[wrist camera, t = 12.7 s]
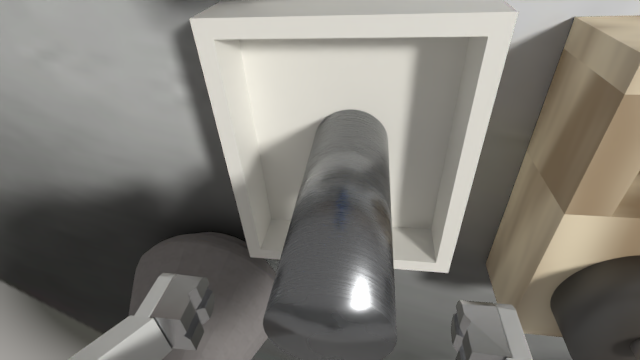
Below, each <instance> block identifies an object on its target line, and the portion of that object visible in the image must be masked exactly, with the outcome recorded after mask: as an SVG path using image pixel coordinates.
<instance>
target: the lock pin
mask: <svg viewBox="0 0 640 360" xmlns="http://www.w3.org/2000/svg"><path fill="white" fill-rule="evenodd" d="M263 328H264V331H265V333H266V335H267V336H268V338H269V339H270V340H271V341H272V342H273V343H274V344H275V345H276V346H277V347H279V348H280V349H281V350H283V351H284V352H286V353H288V354H290V355H292V356H294V357H296V358H299V359H301V360H381V359H383V358H385V357H386V356H387V355H389V354H390V353H391V352H392V350H393V349H394V347H395V345H396V342H397V331H396V308H395V286H394V263H393V240H392V217H391V195H390V172H389V149H388V136H387V133H386V130H385V128H384V126H383V125H382V124H381V122H380V121H379V120H378V119H376V118H375V117H374V116H372V115H371V114H369V113H366V112H363V111H360V110H352V109H349V110H341V111H338V112H335V113H333V114H331V115H329V116H327V117H326V118H325V119H324V120H323V121H322V122H321V123H320V125H319V126H318V128H317V130H316V133H315V137H314V141H313V144H312V148H311V151H310V155H309V158H308V162H307V165H306V169H305V172H304V176H303V180H302V183H301V187H300V190H299V194H298V197H297V201H296V204H295V208H294V211H293V215H292V219H291V222H290V226H289V229H288V233H287V236H286V240H285V243H284V247H283V250H282V254H281V258H280V261H279V265H278V268H277V272H276V275H275V279H274V282H273V286H272V290H271V293H270V297H269V300H268V304H267V307H266V311H265V314H264V318H263Z"/></svg>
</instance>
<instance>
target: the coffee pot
mask: <svg viewBox="0 0 640 360" xmlns="http://www.w3.org/2000/svg"><path fill="white" fill-rule="evenodd" d="M162 273H171V274H180V275H190V276H199V277H207V279H208V281H209V285H208V288H209V289H210V290H211V291H213V294H214V300H215V303H214V308H213V312H212V315H211V317H210V319H209V320H208V321H207V322H205V323H204V324H203V328H204V334H203V336H202V338H201V340H200V343H199V345H198V347H197V350H185V349H174V348H172V351H170V352H169V353H168V354H167V355H166V356H165V357H164V358H163V359H162V360H251V359H252V357H253V356H254V355H255V354H256V352H257V351H258V350H259V348H260V347H261V346H262V345H263V343H264V342H265V341H266V339H267V338H268V336H267V335H266V333H265V331H264V328H263V318H264V314H265V311H266V307H267V304H268V300H269V297H270V293H271V290H272V286H273V282H274V279H275V275H276V273H275V271H274V270H273V269H272V267H271V266H270V265H269V264H268V263H267V262H266V260H265V258H255V257H250V254H249V250H248V247H247V243H246V242H244V241H242V240H240V239H238V238H236V237H233V236H229V235H226V234H222V233H215V232H203V233H197V234H185V235H178V236H175V237H172V238H169V239H166V240H163V241H162V242H160V243H158V244H156V245H155V246H153V247H152V248H151V249H150V250H148V251H147V252H146V253H145V254H143V255H142V256H141V259H140V261H139V263H138V265H137V267H136V270H135V276H134V283H133V289H132V296H131V302H130V308H129V315H128V316H130V315H132V316H134V315H135V313H136V312H137V310H138V309H139V307H140V305H141V304H142V302H143V300H144V299H145V297H146V296H147V294H148V292H149V291H150V289H151V288H152V286H153V284H154V283H155V281H156V280H157V278H158V277H159V276H160V275H161V274H162Z"/></svg>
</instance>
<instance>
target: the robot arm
mask: <svg viewBox="0 0 640 360" xmlns="http://www.w3.org/2000/svg"><path fill="white" fill-rule="evenodd" d="M208 285H209V281H208V279H207V277H199V276H190V275H180V274H171V273H162V274H161V275H160V276H159V277H158V278H157V280H156V281H155V283H154V284H153V286H152V288H151V289H150V291H149V292H148V294H147V296H146V297H145V299H144V300H143V302H142V304H141V305H140V307H139V309H138V310H137V312H136V313H135V315H134V316H132V315H130V316H128V317H127V318H126V319H124V320H123V321H121V322H120V323H118V324H117V325H116V326H114V327H113V328H111V329H110V330H109V331H107V332H106V333H104V334H103V335H102V336H100V337H99V338H97V339H96V340H94V341H93V342H92V343H90V344H89V345H87V346H86V347H85V348H83V349H82V350H80V351H79V352H77V353H76V354H75V355H73V356H72V357H70V358H69V359H68V360H162V359H163V358H164V357H165V356H166V355H167V354H168V353H169V352H170V351H172V348H174V349H185V350H197V347H198V345H199V343H200V340H201V338H202V336H203V334H204V328H203V324H204V323H205V322H207V321H208V320H209V319H210V317H211V315H212V312H213V308H214V303H215V300H214V294H213V291H211V290H210V289H209V288H208ZM456 309H457V313H456V314H454V315H453V318H452V323H451V336H452V343H453V346H454V348H455V349H456V350H457V351H458V354H457V357H456V360H533V359H532V356H531V353H530V350H529V347H528V344H527V341H526V338H525V335H524V332H523V329H522V327H521V324H520V321H519V318H518V315H517V312H516V309H515V308H514V306H513V305H511V304H498V303H492V302H479V301H466V300H459V301H458V302H457V305H456Z"/></svg>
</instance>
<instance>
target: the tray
mask: <svg viewBox="0 0 640 360" xmlns="http://www.w3.org/2000/svg"><path fill="white" fill-rule="evenodd" d="M517 16H518V11H517V10H516V9H514V8H513V7H512V6H510V5H509V4H508V3H506V2H505V1H504V0H225V1H220V2H218V3H216V4H215V5H213V6H211V7H209V8H207V9H206V10H204V11H202V12H200V13H198V14H197V15H195V16H193V17H191V18H189V19H190V23H191V27H192V31H193V35H194V39H195V43H196V47H197V51H198V55H199V59H200V62H201V66H202V70H203V74H204V78H205V82H206V86H207V90H208V94H209V98H210V102H211V106H212V109H213V113H214V117H215V121H216V125H217V129H218V133H219V137H220V141H221V145H222V149H223V153H224V156H225V160H226V164H227V168H228V172H229V176H230V180H231V184H232V188H233V192H234V196H235V200H236V203H237V207H238V211H239V215H240V219H241V223H242V227H243V231H244V235H245V239H246V243H247V247H248V250H249V254H250V257H255V258H267V259H280V258H281V254H282V250H283V247H284V243H285V240H286V236H287V233H288V229H289V226H290V222H291V219H292V215H293V211H294V208H295V204H296V201H297V197H298V194H299V190H300V187H301V183H302V180H303V176H304V172H305V169H306V165H307V162H308V158H309V155H310V151H311V148H312V144H313V141H314V137H315V133H316V130H317V128H318V126H319V125H320V123H321V122H322V121H323V120H324V119H325V118H326V117H327V116H329V115H331V114H333V113H335V112H338V111H341V110H349V109H352V110H360V111H363V112H366V113H369V114H371V115H372V116H374V117H375V118H376V119H378V120H379V121H380V122H381V124H382V125H383V126H384V128H385V130H386V133H387V136H388V149H389V172H390V195H391V217H392V240H393V263H394V269H404V270H417V271H429V272H442V273H448V272H449V269H450V265H451V261H452V257H453V254H454V250H455V246H456V243H457V239H458V235H459V231H460V228H461V224H462V220H463V217H464V213H465V209H466V205H467V202H468V198H469V194H470V191H471V187H472V183H473V179H474V176H475V172H476V168H477V165H478V161H479V157H480V153H481V150H482V146H483V142H484V139H485V135H486V131H487V127H488V124H489V120H490V116H491V113H492V109H493V105H494V101H495V98H496V94H497V90H498V87H499V83H500V79H501V75H502V72H503V68H504V64H505V61H506V57H507V53H508V49H509V46H510V42H511V38H512V35H513V31H514V27H515V24H516V20H517Z"/></svg>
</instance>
